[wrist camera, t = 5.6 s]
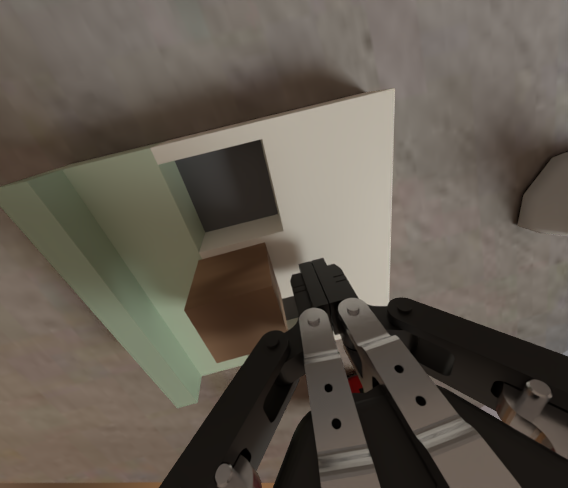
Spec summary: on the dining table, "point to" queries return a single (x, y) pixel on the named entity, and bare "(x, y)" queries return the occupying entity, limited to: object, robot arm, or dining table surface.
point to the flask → (547, 199)
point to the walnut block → (235, 301)
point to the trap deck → (216, 221)
